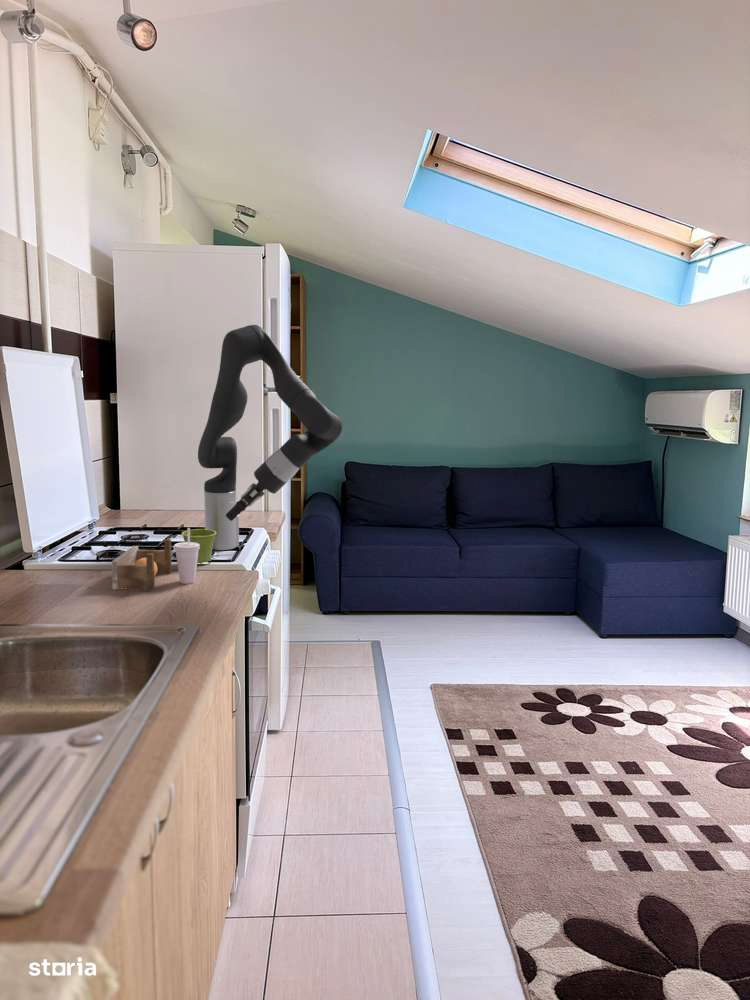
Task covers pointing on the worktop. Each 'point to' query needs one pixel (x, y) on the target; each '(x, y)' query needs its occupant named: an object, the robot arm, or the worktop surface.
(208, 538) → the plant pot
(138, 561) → the ball
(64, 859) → the worktop surface
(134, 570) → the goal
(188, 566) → the smoothie
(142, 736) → the worktop surface
